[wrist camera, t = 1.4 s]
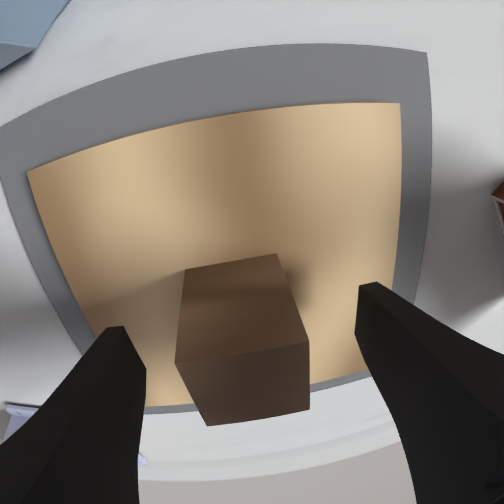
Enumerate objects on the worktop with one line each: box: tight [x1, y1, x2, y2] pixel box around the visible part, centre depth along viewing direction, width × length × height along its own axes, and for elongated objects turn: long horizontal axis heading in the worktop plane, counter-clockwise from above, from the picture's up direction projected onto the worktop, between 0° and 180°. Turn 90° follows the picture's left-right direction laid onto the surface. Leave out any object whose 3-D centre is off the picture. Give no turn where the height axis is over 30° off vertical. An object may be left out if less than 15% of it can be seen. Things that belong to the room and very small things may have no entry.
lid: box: [27, 102, 402, 426], centre depth 9 cm, size 12×12×5 cm
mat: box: [0, 44, 432, 414], centre depth 11 cm, size 16×16×1 cm
